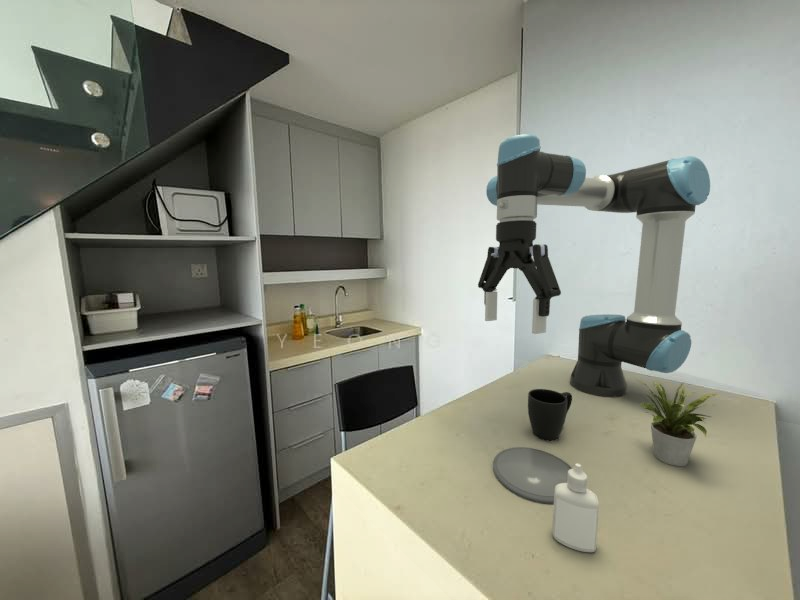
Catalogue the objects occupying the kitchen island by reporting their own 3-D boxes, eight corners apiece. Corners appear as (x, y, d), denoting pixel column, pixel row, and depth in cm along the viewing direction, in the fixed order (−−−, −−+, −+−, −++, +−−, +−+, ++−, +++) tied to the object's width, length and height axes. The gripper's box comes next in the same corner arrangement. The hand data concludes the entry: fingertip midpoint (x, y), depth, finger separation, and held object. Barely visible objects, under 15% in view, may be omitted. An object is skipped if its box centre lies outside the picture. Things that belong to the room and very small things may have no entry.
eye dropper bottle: (585, 563, 43) (591, 482, 42) (546, 534, 48) (550, 460, 46) (601, 547, 46) (607, 469, 44) (562, 520, 50) (566, 450, 49)
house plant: (610, 453, 67) (616, 379, 65) (630, 430, 76) (636, 364, 73) (703, 491, 56) (714, 403, 54) (714, 458, 65) (724, 382, 63)
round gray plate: (532, 443, 71) (532, 440, 71) (598, 487, 57) (598, 483, 57) (477, 462, 65) (477, 457, 65) (535, 515, 51) (536, 510, 51)
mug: (585, 435, 74) (587, 396, 73) (547, 448, 69) (549, 407, 68) (555, 419, 81) (556, 383, 80) (519, 430, 76) (520, 392, 75)
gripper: (463, 226, 73) (462, 317, 76) (555, 211, 50) (549, 342, 53) (489, 227, 76) (487, 315, 79) (587, 213, 53) (580, 337, 56)
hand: (512, 326), depth 66 cm, fingers open, 13 cm apart
